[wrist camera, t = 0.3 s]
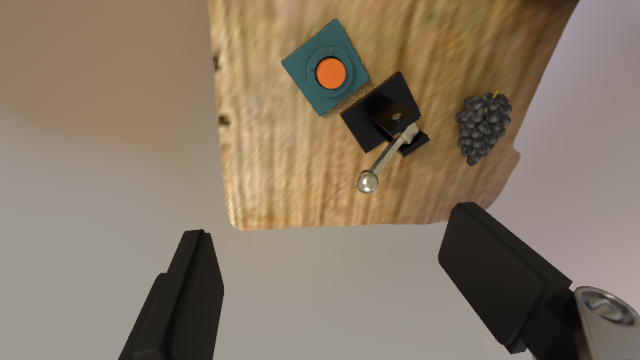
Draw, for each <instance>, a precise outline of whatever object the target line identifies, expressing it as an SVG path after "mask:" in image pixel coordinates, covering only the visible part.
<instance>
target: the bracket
mask: <svg viewBox="0 0 640 360" xmlns="http://www.w3.org/2000/svg"><path fill="white" fill-rule="evenodd" d="M340 116H341V117H342V119H343V120H344V122H345V123H346V125H347V126H348V128H349V129H350V131H351V132H352V134H353V135H354V137H355V138H356V140H357V142H358V143H359V145H360V146H361V148H362V149H363V151H364V152H365V153H367V152H369V151H370V150H372V149H373V148H375V147H376V146H378V145H379V144H380V143H382V142H383V141H385V140H386V141H387V142H388V143H390V142H391V141H392V140H393V137H394V136H395V135H396V134H398V133H399V132H401V131H402V130H404V129H405V128H407V127H408V126H409V125H411V124H412V123H414V122H415V121H417V120H418V119H419V116H421V114H420V112H419V110H418V107H417V105H416V103H415V101H414V99H413V97H412V95H411V93H410V90H409V88H408V86H407V84H406V82H405V80H404V78H403V76H402V73H401V72H396V73H395V74H394V75H392V76H391V77H390V78H388V79H387V80H385V81H384V82H383V83H381V84H380V85H379V86H377V87H376V88H375V89H373V90H372V91H371V92H369V93H368V94H366V95H365V96H364V97H362V98H361V99H360V100H358V101H357V102H356V103H354V104H353V105H352V106H350V107H349V108H347V109H346V110H345V111H343V112H342V113H341V114H340ZM418 130H419V129H418ZM429 140H430V139H429V137H428V135H427V134H425V133H423V132H422V131H420V130H419V132H418V133H417V134H416V136H415V137H414V138H413V140H412V141H411V142H410V144H401V146H400V147H399V148H398V150H397V151H398V152H399V153H400V154H401V155H402V156H403V157H405V156H407V155H408V154H410V153H411V152H413V151H414V150H416V149H417V148H419V147H420V146H422V145H423V144H425V143H426V142H428V141H429Z"/></svg>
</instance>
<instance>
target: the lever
mask: <svg viewBox="0 0 640 360" xmlns="http://www.w3.org/2000/svg"><path fill="white" fill-rule="evenodd" d="M418 132H419V130H418V128H417V126H416V124H415V122H414V123H412V124H411V125H409V126H408V127H407V128H405V129H404V130H402V131H401V132H399V133H398V134H396V135H395V136H394V137H393V140H392V141H391V142H390V143H389V145H388V146H387V147H386V149H385V150H384V151H383V152H382V154H381V155H380V156H379V158H378V159H377V160H376V161H375V163H374V164H373V165H372V167H371V168H370V169H369V170H363V171H361V172H359V173H358V174H357V175H356V177H355V186H356V188H357V189H358V190H359V191H360V192H362V193H371V192H373V191H374V190H375V189H376V188H377V186H378V177H377V176H378V175H379V173H380V172H381V171H382V169H383V168H384V167H385V165H386V164H387V163H388V161H389V160H390V159H391V157H392V156H393V155H394V153H395V152H396V151H397V150H398V148H399V147H400V146H401V144H410V142H411V141H412V140H413V138H414V137H415V136H416V134H417V133H418Z"/></svg>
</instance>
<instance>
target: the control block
mask: <svg viewBox="0 0 640 360" xmlns="http://www.w3.org/2000/svg"><path fill="white" fill-rule="evenodd" d="M327 58H333V59H336V60H338V61H340V62H341V63H342V64H343V66H344V68H345V79H344V81H343V83H342V84H341V85H340V86H339V87H337V88H334V89H328V88H326V87H324V86H323V85H322V84H321V83H320V82H319V81H318V79H317V75H316V72H317V67H318V65H319V64H320V62H321V61H323V60H324V59H327ZM281 63H282V65H283V66H284V68H285V69H286V70H287V72H288V73H289V75H290V76H291V77H292V79H293V80H294V82H295V83H296V84H297V86H298V87H299V89H300V90H301V91H302V93H303V94H304V96H305V97H306V98H307V100H308V101H309V103H310V104H311V105H312V107H313V108H314V110H315V111H316V112H317V114H318V115H319V116H321V115H323V114H324V113H325V112H327V111H328V110H329V109H331V108H332V107H333V106H335V105H336V104H337V103H339V102H340V101H341V100H343V99H344V98H345V97H347V96H348V95H349V94H351V93H352V92H353V91H355V90H356V89H357V88H359V87H360V86H361V85H363V84H364V83H366V82H367V81H368V80H370V78H369V76H368V74H367V72H366V70H365V69H364V67H363V65H362V63H361V61H360V59H359V58H358V56H357V54H356V52H355V50H354V48H353V47H352V45H351V43H350V41H349V39H348V37H347V36H346V34H345V32H344V30H343V28H342V26H341V25H340V23H339V21H338V19H333V20H332V21H331V22H330V23H328V24H327V25H326V26H325V27H323V28H322V29H321V30H320V31H319V32H317V33H316V34H315V35H314V36H312V37H311V38H310V39H309V40H307V41H306V42H305V43H304V44H302V45H301V46H300V47H299V48H298V49H296V50H295V51H294V52H293V53H291V54H290V55H289V56H288V57H286V58H285V59H284V60H283V61H282V62H281Z"/></svg>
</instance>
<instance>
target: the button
mask: <svg viewBox="0 0 640 360" xmlns="http://www.w3.org/2000/svg"><path fill="white" fill-rule="evenodd" d="M316 75H317V79H318V81H319V82H320V83H321V84H322V85H323V86H324V87H326V88H328V89H334V88H337V87H339V86H340V85H341V84H342V83H343V81H344V79H345V68H344V66H343V64H342V63H341V62H340V61H338V60H336V59H333V58H327V59H324V60H323V61H321V62H320V64H319V65H318V67H317V72H316Z"/></svg>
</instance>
